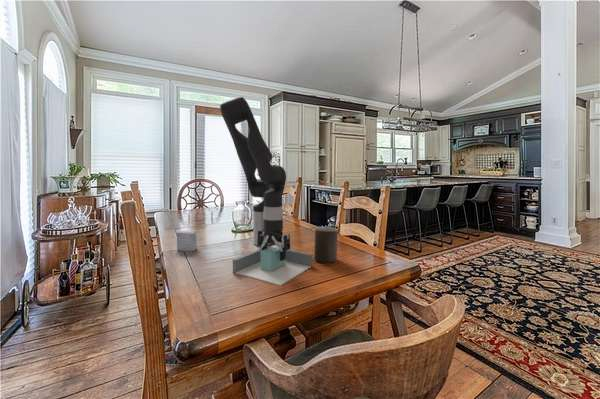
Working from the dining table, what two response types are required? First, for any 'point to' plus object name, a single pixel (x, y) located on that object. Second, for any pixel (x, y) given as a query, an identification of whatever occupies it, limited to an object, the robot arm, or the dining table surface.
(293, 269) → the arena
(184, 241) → the medicine box
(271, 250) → the teal block
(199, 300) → the dining table surface
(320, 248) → the pillar candle
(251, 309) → the dining table surface
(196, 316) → the dining table surface
